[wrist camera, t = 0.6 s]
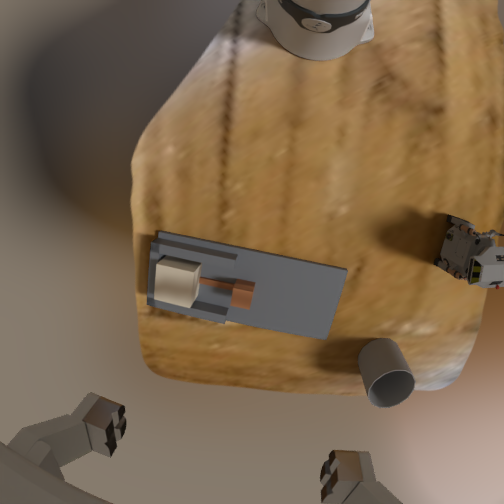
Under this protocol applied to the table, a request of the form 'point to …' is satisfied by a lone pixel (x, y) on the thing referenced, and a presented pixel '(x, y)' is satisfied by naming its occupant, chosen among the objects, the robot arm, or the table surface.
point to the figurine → (472, 255)
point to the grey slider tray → (266, 287)
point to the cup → (385, 373)
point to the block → (194, 283)
